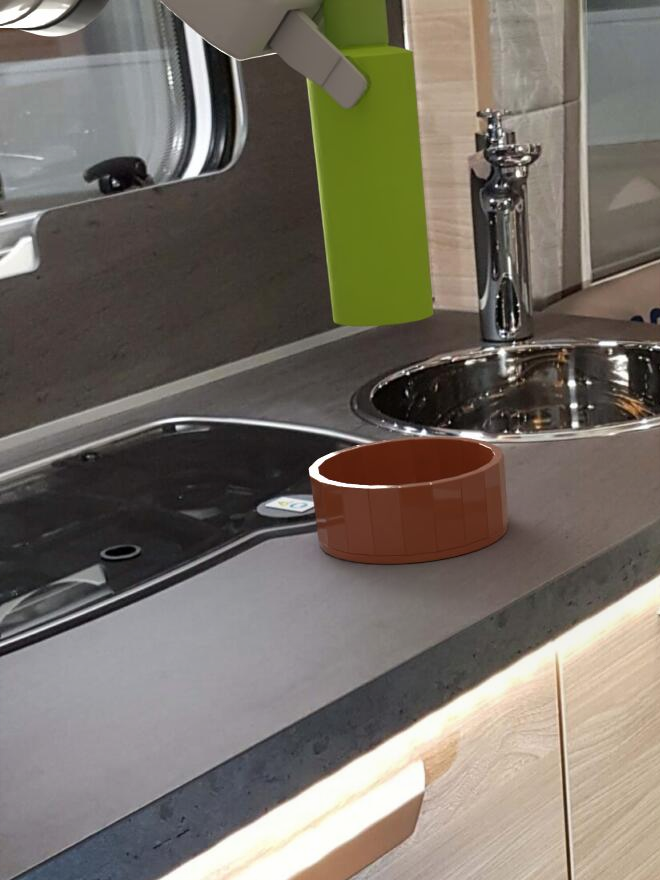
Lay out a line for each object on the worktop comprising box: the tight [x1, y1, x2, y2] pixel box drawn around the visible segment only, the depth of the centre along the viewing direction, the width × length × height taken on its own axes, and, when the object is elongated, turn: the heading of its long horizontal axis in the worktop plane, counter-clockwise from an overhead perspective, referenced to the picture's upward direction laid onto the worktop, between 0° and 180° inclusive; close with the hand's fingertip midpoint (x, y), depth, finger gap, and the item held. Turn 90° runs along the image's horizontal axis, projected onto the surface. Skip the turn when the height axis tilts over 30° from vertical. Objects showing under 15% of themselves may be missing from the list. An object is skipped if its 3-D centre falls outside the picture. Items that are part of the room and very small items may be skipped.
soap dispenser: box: [306, 0, 434, 327], centre depth 85 cm, size 6×7×20 cm
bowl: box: [308, 435, 509, 565], centre depth 97 cm, size 12×12×4 cm
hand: (377, 92), depth 84 cm, fingers closed on soap dispenser, 6 cm apart
